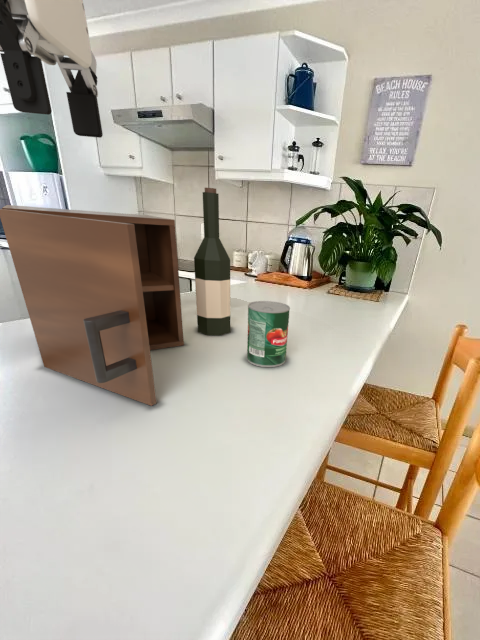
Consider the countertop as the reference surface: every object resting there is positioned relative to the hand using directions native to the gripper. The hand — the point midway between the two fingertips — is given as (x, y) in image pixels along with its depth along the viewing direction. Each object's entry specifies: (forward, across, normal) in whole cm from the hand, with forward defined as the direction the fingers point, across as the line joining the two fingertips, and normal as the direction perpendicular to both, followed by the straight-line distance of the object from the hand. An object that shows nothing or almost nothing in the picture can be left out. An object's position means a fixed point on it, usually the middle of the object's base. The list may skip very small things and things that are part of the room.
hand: (64, 125), depth 35 cm
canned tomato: (+33, -16, +22) cm, 43 cm away
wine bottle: (+33, -32, +9) cm, 47 cm away
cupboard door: (+33, +1, -5) cm, 33 cm away
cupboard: (+33, -21, -10) cm, 40 cm away
